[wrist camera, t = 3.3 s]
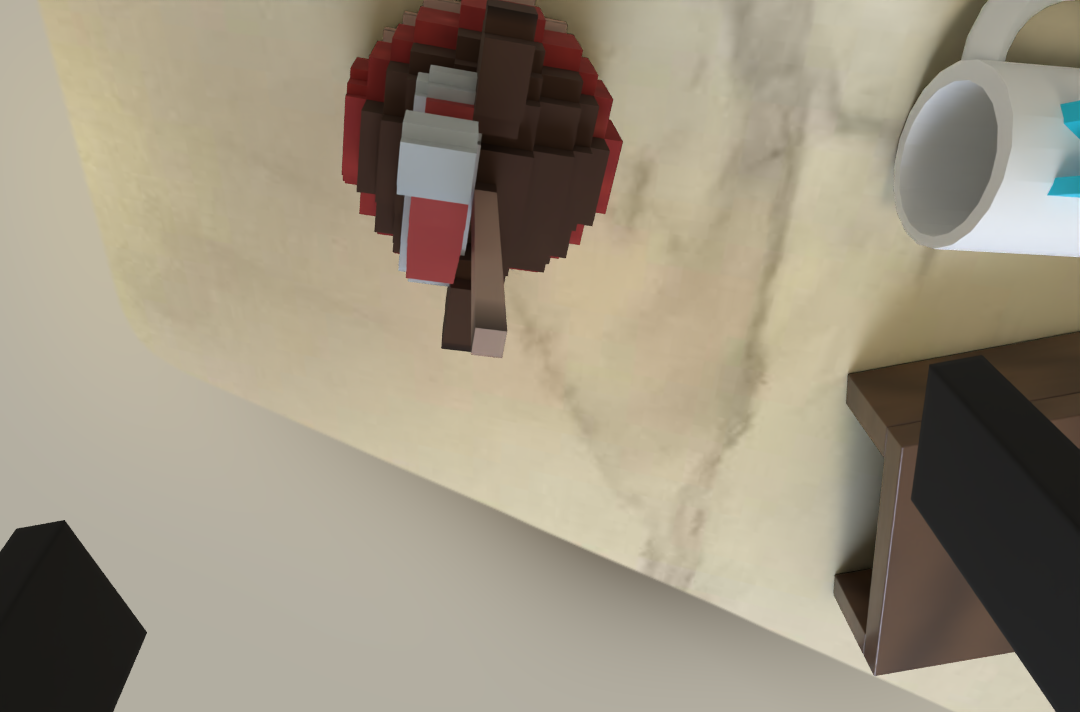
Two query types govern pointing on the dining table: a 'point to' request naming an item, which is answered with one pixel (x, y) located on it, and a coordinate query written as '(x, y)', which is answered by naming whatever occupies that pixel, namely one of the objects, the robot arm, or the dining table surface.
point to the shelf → (904, 536)
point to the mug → (994, 148)
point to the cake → (478, 151)
